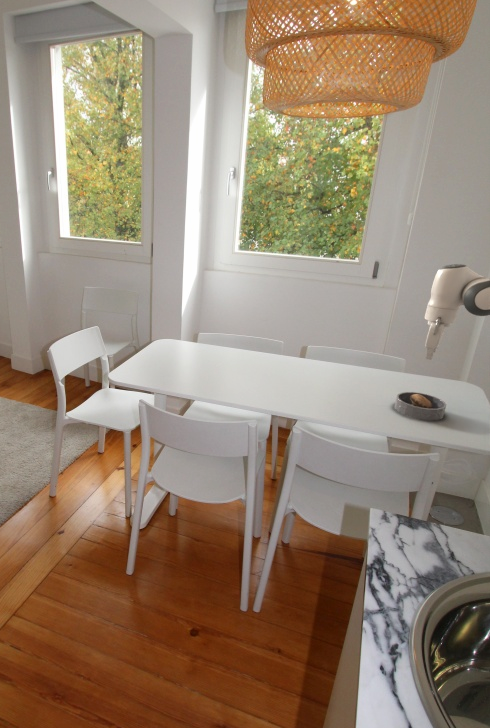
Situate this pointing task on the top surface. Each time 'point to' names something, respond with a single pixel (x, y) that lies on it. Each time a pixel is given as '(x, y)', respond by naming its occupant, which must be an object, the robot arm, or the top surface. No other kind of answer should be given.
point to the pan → (409, 410)
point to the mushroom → (420, 401)
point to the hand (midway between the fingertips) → (430, 355)
